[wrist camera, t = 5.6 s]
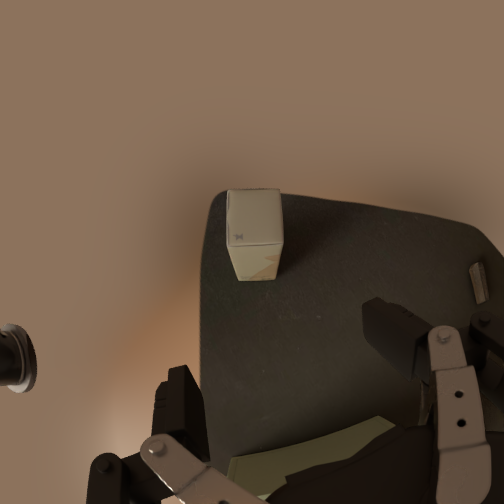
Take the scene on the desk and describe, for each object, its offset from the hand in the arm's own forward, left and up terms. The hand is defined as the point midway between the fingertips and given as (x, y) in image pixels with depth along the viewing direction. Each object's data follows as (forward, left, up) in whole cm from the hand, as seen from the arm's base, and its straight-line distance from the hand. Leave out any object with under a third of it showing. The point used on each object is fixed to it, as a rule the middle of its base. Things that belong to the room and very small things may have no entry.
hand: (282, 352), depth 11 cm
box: (+1, +9, -18) cm, 21 cm away
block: (+32, -3, -18) cm, 37 cm away
